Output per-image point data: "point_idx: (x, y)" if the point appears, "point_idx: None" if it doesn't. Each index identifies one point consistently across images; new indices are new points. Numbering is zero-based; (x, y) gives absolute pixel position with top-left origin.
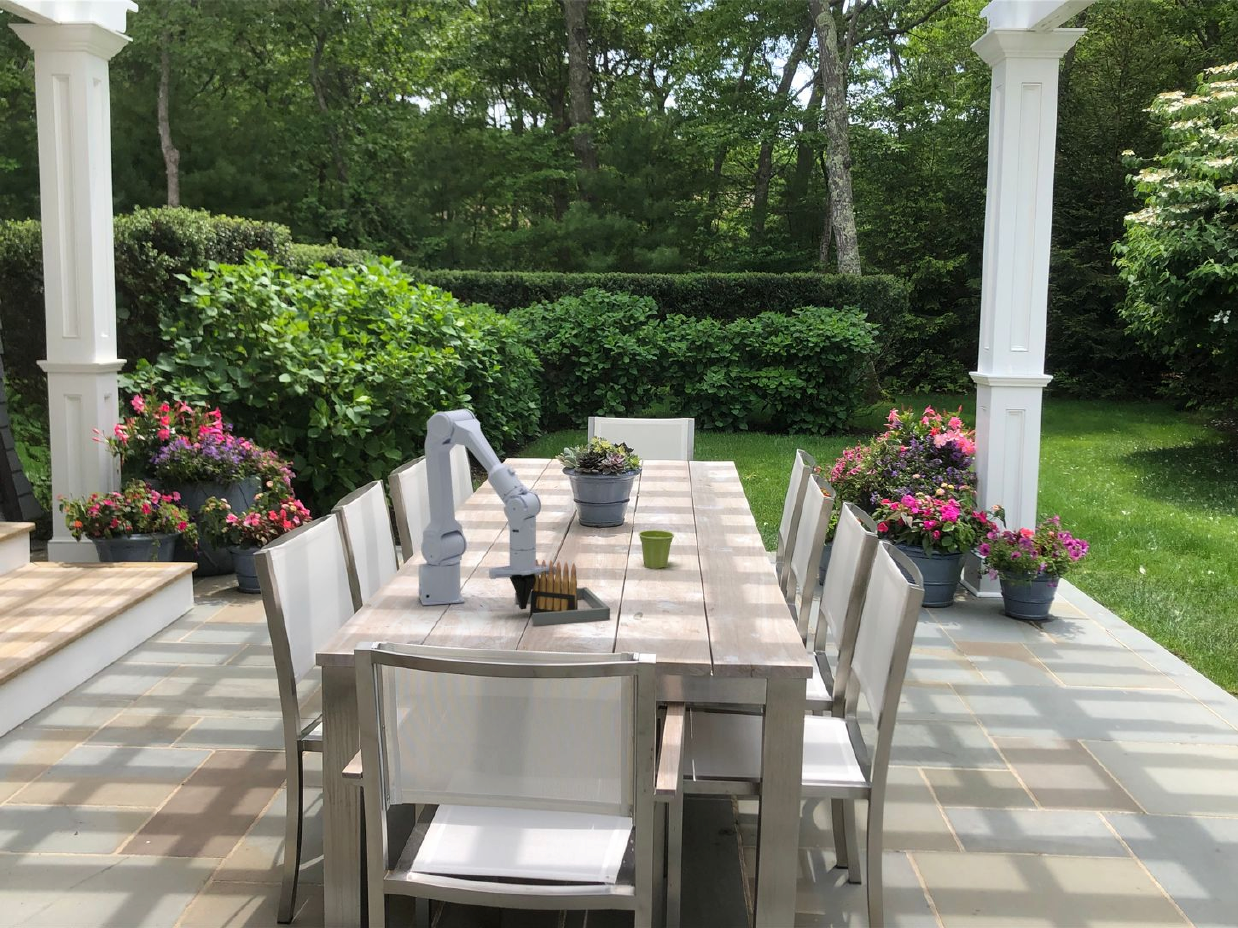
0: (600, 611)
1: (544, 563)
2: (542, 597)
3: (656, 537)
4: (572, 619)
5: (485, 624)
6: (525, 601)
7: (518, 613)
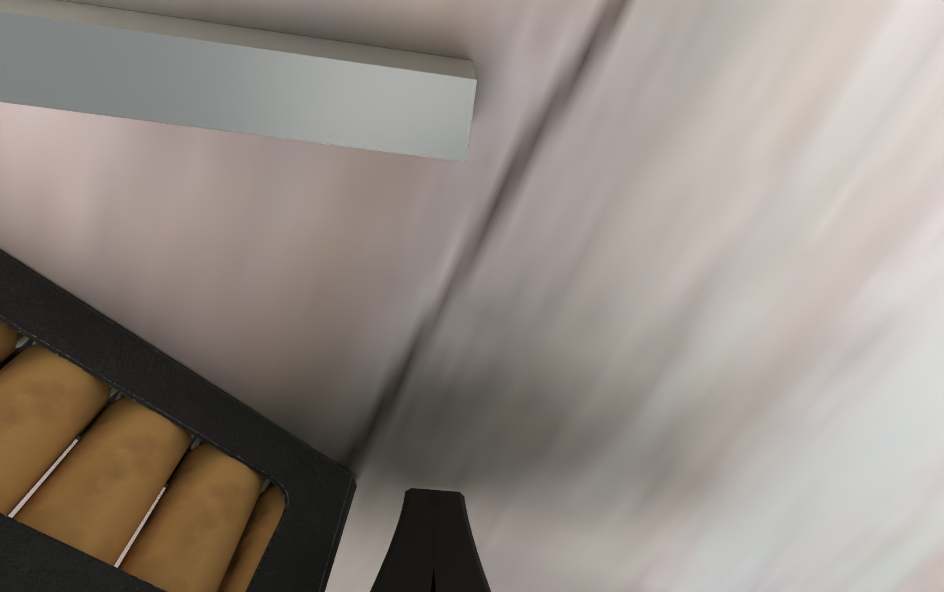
0: None
1: None
2: (168, 580)
3: None
4: None
5: (900, 330)
6: (417, 553)
7: None
